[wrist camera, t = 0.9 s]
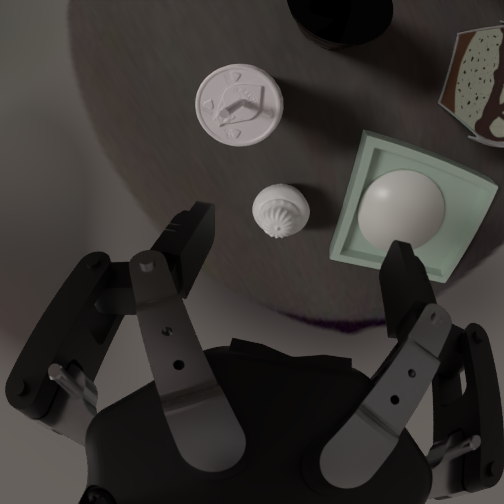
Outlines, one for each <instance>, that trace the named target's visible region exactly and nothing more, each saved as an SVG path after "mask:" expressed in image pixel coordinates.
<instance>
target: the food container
mask: <svg viewBox="0 0 504 504" xmlns="http://www.w3.org/2000/svg"><path fill="white" fill-rule="evenodd" d="M500 22H501V23H502V24H503V25H501V26H493V27H487V28H481V29H475V30H470V31H465V32H460V33H458V34H457V38H456V42H455V47H454V51H453V55H452V58H451V62H450V66H449V69H448V73H447V76H446V80H445V83H444V86H443V89H442V92H441V95H440V98H439V101H438V104H439V105H441V106H442V107H443V108H445V109H446V110H447V111H448V112H450V113H451V114H452V115H453V116H454V117H456V118H457V119H458V120H459V121H460V122H461V123H463V124H464V125H465V126H466V127H467V128H468V129H469V130H471V131H472V132H473V133H474V134H475V135H476V136H477V137H472V136H468V138H470V139H472V140H474V141H477V142H480V143H483V144H486V145H489V146H492V147H499V148H501V147H504V21H501V20H500Z"/></svg>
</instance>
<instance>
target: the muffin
mask: <svg viewBox="0 0 504 504" xmlns="http://www.w3.org/2000/svg"><path fill="white" fill-rule="evenodd" d="M252 210H253V216H254V219H255V221H256V222H257V224H258V225H259V226H260V227H261V228H262V229H263V230H264V231H265V233H267V234H269V235H270V236H271V237H273V236H275V238H278V237H281V238H283V237H284V236H289V235H292V234H295V233H297V232H298V231H300V230H301V229H302V228H303V227H304V226H305V225H306V223H307V221H308V219H309V215H310V209H309V205H308V203H307V201H306V199H305V197H304V196H303V194H302V193H300V191H299V190H297V189H296V188H295V187H292V186H291V185H287V184H286V185H285V184H277V185H272V186H268V187H267V188H265V189H264V190H262V191H261V192H260V193H259V194H258V196H257V197H256V199H255V201H254V204H253V209H252Z"/></svg>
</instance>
